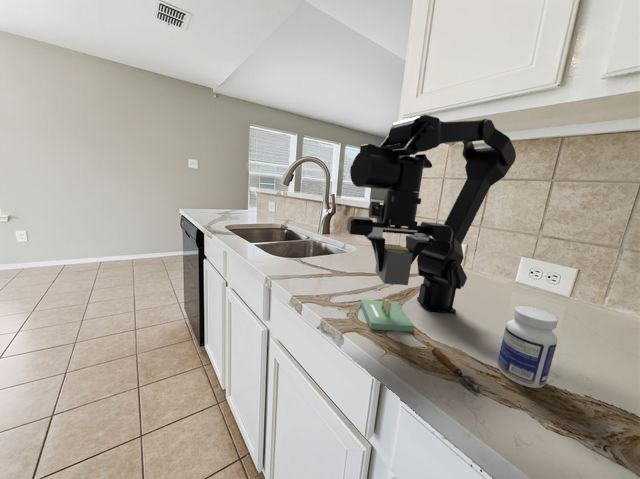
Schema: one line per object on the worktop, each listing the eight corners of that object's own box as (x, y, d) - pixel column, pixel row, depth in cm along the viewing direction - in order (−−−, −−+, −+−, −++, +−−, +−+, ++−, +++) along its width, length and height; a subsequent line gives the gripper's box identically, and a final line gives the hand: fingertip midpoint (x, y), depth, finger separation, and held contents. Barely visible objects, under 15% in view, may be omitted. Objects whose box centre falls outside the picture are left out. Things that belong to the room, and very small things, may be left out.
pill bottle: (522, 362, 40) (537, 305, 38) (556, 391, 35) (576, 324, 33) (487, 360, 40) (501, 302, 38) (515, 389, 34) (534, 322, 32)
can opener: (430, 353, 41) (431, 347, 41) (443, 353, 41) (444, 346, 41) (471, 399, 32) (473, 391, 32) (487, 398, 33) (489, 390, 33)
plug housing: (375, 271, 53) (378, 242, 52) (396, 272, 53) (400, 244, 52) (383, 283, 46) (388, 250, 45) (408, 285, 46) (413, 252, 45)
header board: (360, 304, 56) (362, 288, 55) (395, 307, 56) (398, 291, 56) (370, 329, 46) (373, 310, 46) (413, 331, 47) (416, 313, 46)
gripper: (432, 194, 55) (420, 263, 58) (347, 187, 54) (339, 257, 57) (461, 196, 44) (445, 281, 47) (355, 186, 43) (346, 273, 46)
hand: (391, 271), depth 50 cm, fingers closed on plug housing, 4 cm apart
